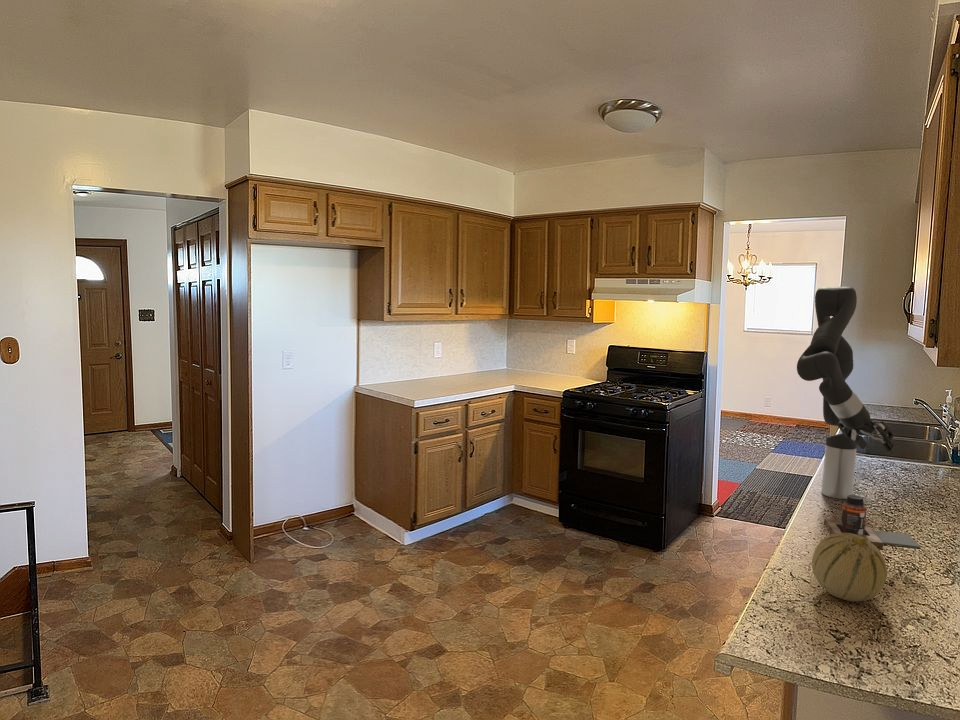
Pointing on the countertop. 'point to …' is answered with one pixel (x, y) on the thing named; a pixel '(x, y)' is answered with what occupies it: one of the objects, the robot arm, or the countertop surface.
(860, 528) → the supplement bottle
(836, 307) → the robot arm
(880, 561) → the cantaloupe
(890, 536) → the rubber mat
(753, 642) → the countertop surface
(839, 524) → the walnut holder
